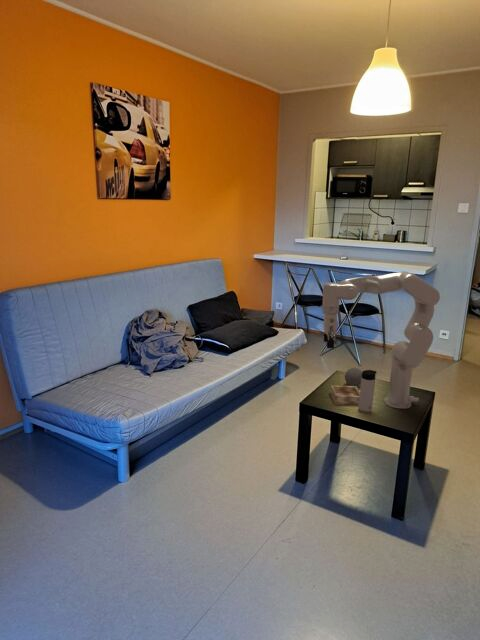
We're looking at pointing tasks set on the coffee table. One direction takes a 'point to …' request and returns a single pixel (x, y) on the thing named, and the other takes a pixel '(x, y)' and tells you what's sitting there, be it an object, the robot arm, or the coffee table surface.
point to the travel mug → (367, 391)
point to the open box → (345, 395)
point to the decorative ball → (353, 376)
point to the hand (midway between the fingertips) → (328, 344)
